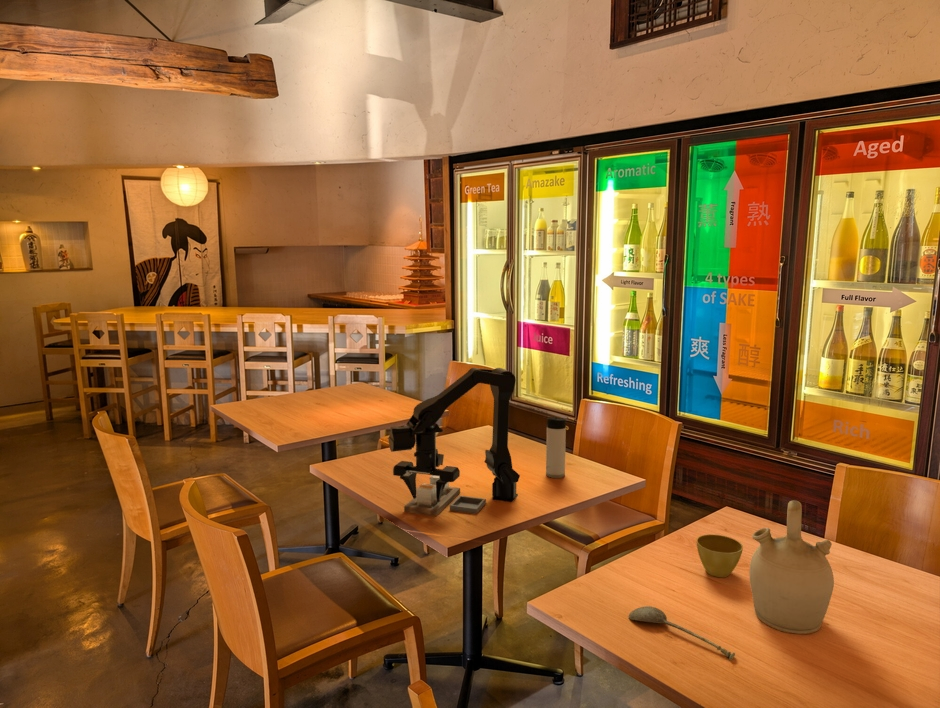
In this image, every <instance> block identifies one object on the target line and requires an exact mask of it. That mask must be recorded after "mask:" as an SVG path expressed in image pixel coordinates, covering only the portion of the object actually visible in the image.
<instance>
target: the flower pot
mask: <svg viewBox="0 0 940 708" xmlns="http://www.w3.org/2000/svg"><path fill="white" fill-rule="evenodd" d="M696 547H697V549H696V550H697V553H698V556H699V559H700V561H701V564H702V566H703V568H704V569H705V572H706V573H707V574H709V575H710V576H713V577H716V578H726V577H728V576H730V575H731V574H732V572H734V570H735V568H736V567H737V565H738V564H739V561H740V560H741V557H742V553H743V549H744V546H743V544H742V543H741V542H740V541H739V540H737V539H735V538H732V537H731V536H730V537H729V536H726V535H722V534H721V535H720V534H702V535H700V536H698V537H697V538H696Z"/></svg>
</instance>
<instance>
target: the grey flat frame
mask: <svg viewBox="0 0 940 708" xmlns="http://www.w3.org/2000/svg"><path fill="white" fill-rule="evenodd" d="M460 494H461V488H460V487H455V486H449V493H448V494H447V495H446V496H441V498H440V501H439V502H437V505H435V506H434V507H433V508H426V507H419V506H417V495H416V498H415V499H414V498H413V497H412V499H411V500H410V501H409V502H407V503H406V504H405V505H404V506H403V511H404V513H410V514H417V515H424V516H431V517H438V516H439V515H440V514H441V513H442V512H443V511H444V510H445V509H446V508H447V507H448V506H450V505H451V504H452V503H453V502H454V501H455V500H456V499H457V498H458V497H459V496H460Z"/></svg>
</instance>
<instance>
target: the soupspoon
mask: <svg viewBox="0 0 940 708" xmlns="http://www.w3.org/2000/svg"><path fill="white" fill-rule="evenodd" d="M627 618H628V619H629V620H632V621H639V622H646V623H657V624H665V625H667V626H669V627H673V628H675V629H678V630H680V631H681V632H684V633H687V635H690V636H692V637H694V638H695V639H699V640H700V641H702V642H704V643H706V644H708V645H710V646H712V647H714V648H716V650H717V651H720V652H721V654H723V655H724V656H725V657H726V658H728V660H729V661H732V660H733V659H734V658H735V656H736V653H735V652H731V651H728V650H726V649H725V647H722V646H721V645H717V644H716V643H714V642H712V641H710V640H708V639H707V638H706V637H703V636H701V635H700V634H699V635H698V634H697V633H695V632H693V631H691V630H688V629H687V628H685V627H683V626H681V625H679V624H676V623H674V622H671V621H668V618H667V615H666V613H665V612H664V611H663V610H661V609H660V608H657V607H654V606H650V605H649V606H647V605H645V606H641V607H640V606H639V607H638V608H636V609H634V610H632V611H631V612H630V613H629V614H628V617H627Z"/></svg>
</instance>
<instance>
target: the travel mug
mask: <svg viewBox="0 0 940 708" xmlns="http://www.w3.org/2000/svg"><path fill="white" fill-rule="evenodd" d="M566 423H567V419H566V418H558V417H552V416H551V417H547V418H546V447H545V448H546V450H545V452H546V453H545V454H546V456H545V457H546V458H545V459H546V460H545V475H546V476H547V477H548V478H550V477H551V478H550V479H561V478H564V477H565V475H566V444H567V443H566V441H567V439H566V437H567V436H566V435H567V433H566V432H567V427H566V426H567V424H566Z"/></svg>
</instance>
